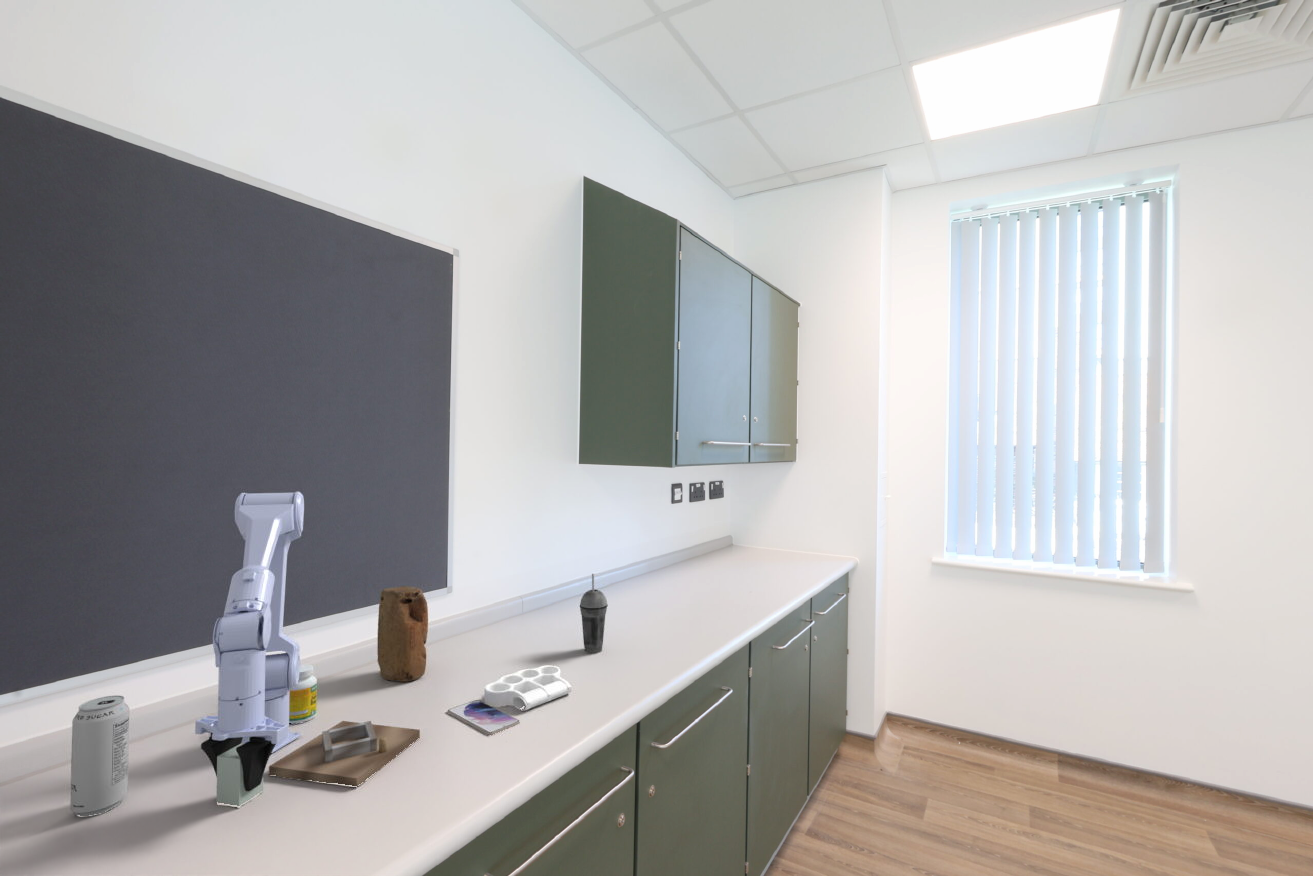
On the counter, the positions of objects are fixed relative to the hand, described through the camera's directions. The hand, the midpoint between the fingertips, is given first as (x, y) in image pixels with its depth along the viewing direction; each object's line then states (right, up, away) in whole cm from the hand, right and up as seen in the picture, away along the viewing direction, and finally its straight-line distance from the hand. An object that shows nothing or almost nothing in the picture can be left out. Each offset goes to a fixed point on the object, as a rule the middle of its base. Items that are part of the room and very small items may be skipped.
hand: (240, 785), depth 87 cm
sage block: (0, -2, 0) cm, 2 cm away
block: (+4, -3, +47) cm, 47 cm away
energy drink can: (-19, -2, -2) cm, 19 cm away
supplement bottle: (-7, -3, +26) cm, 27 cm away
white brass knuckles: (+35, -4, +38) cm, 51 cm away
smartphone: (+28, -3, +27) cm, 39 cm away
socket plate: (+10, -2, +12) cm, 16 cm away
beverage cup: (+46, -4, +65) cm, 79 cm away
